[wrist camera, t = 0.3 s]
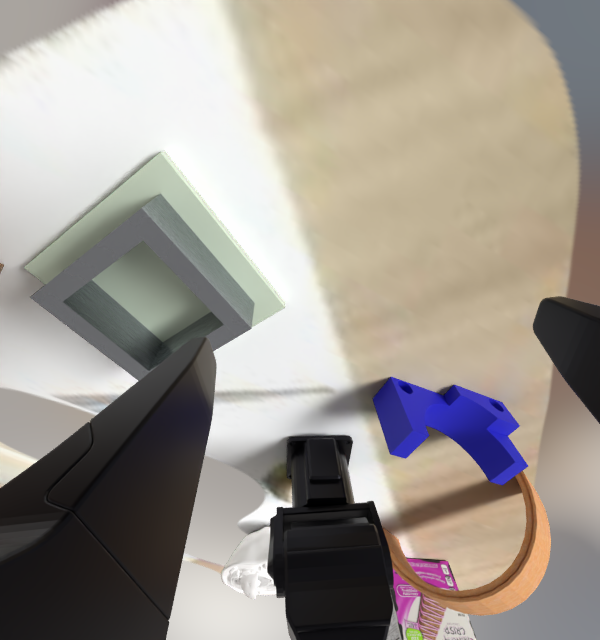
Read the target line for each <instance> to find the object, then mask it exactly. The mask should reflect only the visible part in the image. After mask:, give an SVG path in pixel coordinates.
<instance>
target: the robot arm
mask: <svg viewBox="0 0 600 640" xmlns="http://www.w3.org/2000/svg"><path fill="white" fill-rule="evenodd" d="M533 330H534V333H535V335H536V336H537V338H538V339H539V341H540V343H541V344H542V346H543V347H544V349H545V350H546V352H547V353H548V355H549V357H550V358H551V360H552V361H553V363H554V364H555V366H556V368H557V369H558V371H559V372H560V373H561V375H562V377H563V378H564V379H565V381H566V382H567V383H568V385H569V386H570V387H571V388H572V390H573V391H574V392H575V393H576V395H577V396H578V397H579V398H580V399H581V401H582V402H583V403H584V405H585V406H586V407H587V408H588V410H589V411H590V412H591V413H592V415H593V416H594V417H595V419H596V420H597V421H598V422H599V424H600V306H597V305H593V304H589V303H585V302H581V301H577V300H573V299H570V298H566V297H560V296H558V297H550V298H545V299H543V300H542V301H541V302H540V305H539V308H538V311H537V314H536V317H535V320H534V323H533ZM215 380H216V360H215V357H214V353H213V350H212V347H211V343H210V340H209V339H208V338H207V337H196V338H192V339H190V340H189V341H188V342H187V343H185V344H184V345H183V346H182V347H180V348H179V349H178V350H177V351H175V352H174V353H173V354H172V355H170V356H169V357H168V358H167V359H166V360H164V361H163V362H162V363H161V364H159V365H158V366H157V367H156V368H154V369H153V370H152V371H151V372H149V373H148V374H147V375H146V376H144V377H143V378H142V379H141V380H140V381H138V382H137V383H136V384H135V385H133V386H132V387H131V388H130V389H128V390H127V391H126V392H125V393H123V394H122V395H121V396H120V397H118V398H117V399H116V400H115V401H114V402H112V403H111V404H110V405H109V406H107V407H106V408H105V409H104V410H102V411H101V412H100V413H99V414H97V415H96V416H95V417H94V418H92V419H91V421H90V423H89V422H88V423H86V424H85V425H84V426H82V427H81V428H80V429H79V430H78V431H76V432H75V433H74V434H73V435H71V436H70V437H69V438H68V439H66V440H65V441H64V442H62V443H61V444H60V445H59V446H57V447H56V448H55V449H53V450H52V451H51V452H50V453H48V454H47V455H46V456H44V457H43V458H41V459H40V460H39V461H37V462H36V463H34V464H33V465H32V466H30V467H29V468H28V469H26V470H25V471H24V472H22V473H21V474H19V475H18V476H17V477H15V478H14V479H12V480H11V481H10V482H8V483H7V484H5V485H4V486H3V487H1V488H0V640H166V635H167V631H168V626H169V621H168V620H169V618H170V615H171V610H172V606H173V601H174V596H175V591H176V587H177V582H178V578H179V573H180V568H181V563H182V559H183V554H184V549H185V544H186V540H187V535H188V530H189V525H190V520H191V516H192V511H193V507H194V502H195V497H196V492H197V487H198V482H199V478H200V473H201V468H202V464H203V459H204V455H205V450H206V445H207V440H208V436H209V431H210V426H211V421H212V414H213V403H214V392H215ZM352 444H353V441H352V438H351V437H350V436H331V437H292V438H289V439H288V440H287V478H288V479H292V505H293V508H283V507H277V515H276V516H274V517H273V518H271V519H270V543H269V553H268V562H267V573H268V574H269V576H270V577H271V578H272V579H273V580H274V586H276V595H277V598H283V597H285V604H286V618H287V625H288V631H289V636H290V638H291V640H387V635H388V631H389V626H390V622H391V617H392V613H393V601H392V597H391V592H390V589H393V585H394V575H393V566H392V560H391V555H390V550H389V546H388V543H387V540H386V537H385V534H384V531H383V528H382V525H381V522H380V519H379V516H378V513H377V510H376V507H375V504H374V502H373V501H367V503H355V502H354V497H353V492H352V487H351V481H350V476H349V471H348V465H349V459H350V454H351V449H352Z"/></svg>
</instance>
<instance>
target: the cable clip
mask: <svg viewBox="0 0 600 640" xmlns="http://www.w3.org/2000/svg"><path fill="white" fill-rule="evenodd" d="M373 402H374V405H375V408H376V411H377V414H378V418H379V421H380V424H381V427H382V430H383V433H384V436H385V440H386V443H387V446H388V449H389V452H390V454H391V455H395V456H398V457H402V458H407V457H408V456H409V455H410V454H411V453H412V452H413V451H414V450H415V449H416V448H417V447H418V446H419V445H420V444H421V443H422V442H423V441H424V440H425V439H426V438H427V437H428V436H429V434H428V431H427V429H426V426H429V427H432V428H434V429H436V430H438V431H440V432H442V433H444V434H445V435H447V436H449V437H450V438H451V439H453V440H454V441H455V442H456V443H458V444H459V445H460V446H461V447H462V448H463V449H464V450H465V451H466V452H467V453H468V454H469V455H470V456H471V457H472V458H473V459H474V460H475V461H476V463H477V464H478V465H479V466H480V468H481V469H482V470H483V472H484V473H485V475H486V476H487V478H488V480H489V481H490V482H492V483H496V484H500V485H503V484H505V483H506V482H507V481H509V480H510V479H512V478H513V477H514V476H516V475H517V474H518V473H520V472H521V471H522V470H524V469H525V468H526V467H528V465H527V464H526V462H525V461H524V459H523V458H522V456H521V455H520V453H519V452H518V451H517V449H516V448H515V446H514V445H513V443H512V442H511V440H510V439H509V438H508V435H510V434H511V433H512V432H513V431H514V430H516V429H517V428H518V427H519V424H518V423H517V422H516V420H515V419H514V418H513V416H512V415H511V414H510V412H509V411H508V410H507V408H506V407H505V406H504V404H503V403H502V402H500V401H497V400H494V399H492V398H489V397H486V396H484V395H481V394H478V393H475V392H473V391H470V390H467V389H465V388H462V387H459V386H457V385H453V386H452V387H451V388H450V389H449V390H448V391H447V392H446V393H445V395H441V394H438V393H435V392H433V391H430V390H427V389H424V388H421V387H419V386H416V385H413V384H410V383H407V382H404V381H402V380H399V379H396V378H393V377H390V378H389V379H388V381H387V382H386V383H385V384H384V386H383V387H382V388H381V389H380V390H379V392H378V393H377V394H376V395H375V396H374V398H373Z"/></svg>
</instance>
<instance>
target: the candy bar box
mask: <svg viewBox="0 0 600 640" xmlns="http://www.w3.org/2000/svg"><path fill="white" fill-rule="evenodd" d="M406 559H407V561H408V563H409V564H410V565H411V567H412V568H413V570H414V571H415V572H416V573H417V575H418V576H419V577H420V578H421V579H422V580H423V581H424V582H426V583H428V584H430V585H432V586H434V587H438V588H441V589H445V590H455V591H459V590H458V587H457V584H456V582H455V579H454V576H453V574H452V571H451V568H450V565H449V563H448V561H437V560H424V559H409V558H406ZM393 575H394V585H393V589H390V592H391V597H392V601H393V613H392V617H391V622H390V626H389V631H388V635H387V640H477V639H476V636H475V634H474V631H473V628H472V626H471V623H470V620H469V617H468V614H464V613H461V612H458V611H455V610H452V609H449V608H447V607H445V606H443V605H442V604H440V603H438V602H436V601H434V600H433V599H431V598H429V597H428V596H426V595H425V594H423V593H421V592H420V591H418V590H417V589H415V588H414V587H412V586H411V585H410V584H408V583H407V582H406V581H405V580H403V579H402V578H401V577H400V576H399V575H398V574H397V572H396V571H395V570H394V569H393Z"/></svg>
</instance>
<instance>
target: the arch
mask: <svg viewBox="0 0 600 640" xmlns="http://www.w3.org/2000/svg"><path fill="white" fill-rule="evenodd" d="M515 477H516V479H517V481H518V483H519V485H520V488H521V490H522V493H523V497H524V501H525V505H526V519H527V523H526V530H525V537H524V540H523V543H522V546H521V549H520V552H519V553H518V555H517V557H516V558H515V560H514V562H513V563H512V565H511V566H510V567H509V568H508V569H507V570H506V571H505V572H504V573H503V574H502V575H501V576H500V577H498V578H497V579H495V580H494V581H492V582H491V583H489V584H487V585H484V586H482V587H479V588H476V589H471V590H463V591H455V590H445V589H441V588H438V587H434V586H432V585H430V584H428V583H426V582H424V581H423V580H422V579H421V578H420V577H419V576H418V575H417V573H416V572H415V571H414V570H413V568H412V567H411V565H410V564H409V563H408V561H407V559H406V557H405V555H404V553H403V551H402V549H401V546H400V543H399V540H398V539H397V538H396V537H395V536H394V535H392V534H391V533H390V532H388V531H387V530H386V529H384V528H383V531H384V534H385V537H386V540H387V543H388V546H389V550H390V555H391V560H392V566H393V569H394V570H395V571H396V572H397V574H398V575H399V576H400V577H401V578H402V579H403V580H405V581H406V582H407V583H408V584H410V585H411V586H412V587H414V588H415V589H417V590H418V591H420V592H421V593H423V594H425V595H426V596H428V597H429V598H431V599H433V600H434V601H436V602H438V603H440V604H442V605H443V606H445V607H447V608H449V609H452V610H455V611H458V612H461V613H464V614H473V615H492V614H498V613H501V612H504V611H507V610H510V609H512V608H514V607H515V606H517V605H518V604H520V603H522V602H523V601H525V600H526V599H527V598H528V597H529V596H530V595H531V594H532V593H533V592H534V591H535V589H536V588H537V586H538V585H539V583H540V581H541V580H542V578H543V576H544V574H545V571H546V568H547V564H548V561H549V557H550V547H551V538H550V527H549V522H548V519H547V515H546V511H545V508H544V506H543V504H542V502H541V500H540V498H539V495H538V493H537V492H536V490H535V489H534V487H533V486H532V484H531V483H530V481H529V480H528V478H527V477H526V475H525V474H524V472H523V471H521V472H520V473H518V474H517V475H516V476H515Z"/></svg>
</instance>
